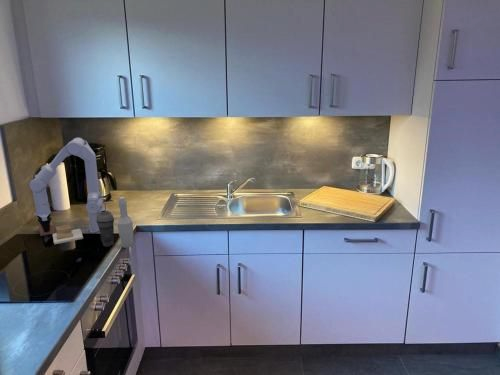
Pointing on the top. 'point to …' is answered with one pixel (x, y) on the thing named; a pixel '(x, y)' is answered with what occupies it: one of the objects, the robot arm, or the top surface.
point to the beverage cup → (106, 227)
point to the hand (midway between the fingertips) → (46, 230)
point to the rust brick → (46, 232)
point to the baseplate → (75, 236)
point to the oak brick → (64, 231)
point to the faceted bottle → (125, 225)
